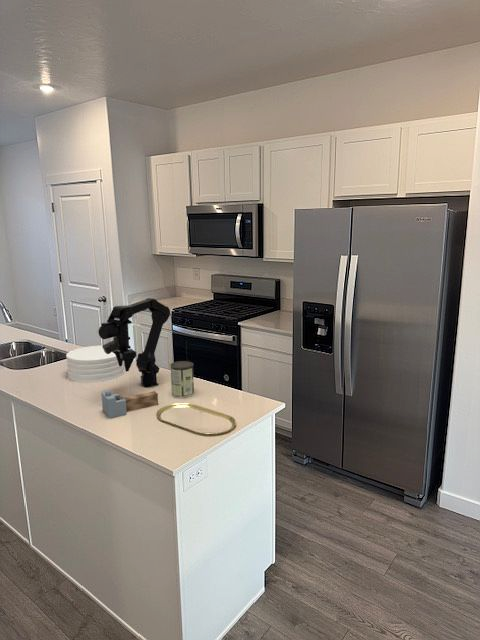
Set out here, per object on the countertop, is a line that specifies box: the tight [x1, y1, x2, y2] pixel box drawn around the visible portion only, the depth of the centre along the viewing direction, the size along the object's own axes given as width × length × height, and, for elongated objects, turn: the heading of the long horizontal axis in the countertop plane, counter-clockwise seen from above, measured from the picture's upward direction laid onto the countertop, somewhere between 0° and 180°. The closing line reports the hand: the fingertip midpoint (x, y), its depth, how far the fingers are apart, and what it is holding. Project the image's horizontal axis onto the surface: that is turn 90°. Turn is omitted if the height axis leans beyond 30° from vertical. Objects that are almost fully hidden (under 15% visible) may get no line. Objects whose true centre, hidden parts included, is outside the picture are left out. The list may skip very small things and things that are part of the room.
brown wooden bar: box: [118, 390, 159, 413], centre depth 185 cm, size 16×4×6 cm, turn 123°
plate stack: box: [66, 345, 126, 383], centre depth 228 cm, size 28×28×12 cm
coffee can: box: [169, 360, 195, 399], centre depth 199 cm, size 10×10×14 cm
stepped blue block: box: [100, 389, 127, 419], centre depth 179 cm, size 7×9×10 cm
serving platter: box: [156, 402, 237, 436], centre depth 173 cm, size 19×35×2 cm, turn 54°
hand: (123, 368), depth 198 cm, fingers open, 9 cm apart
